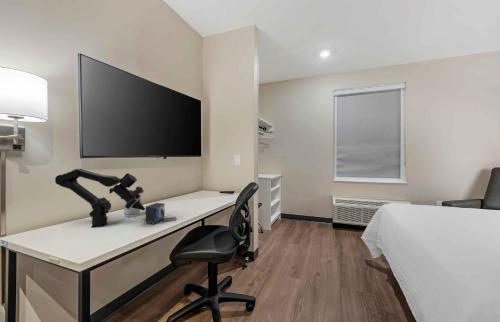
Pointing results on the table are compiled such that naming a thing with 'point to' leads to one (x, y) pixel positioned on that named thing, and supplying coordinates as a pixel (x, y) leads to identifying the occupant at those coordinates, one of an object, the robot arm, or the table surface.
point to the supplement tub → (131, 211)
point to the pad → (169, 219)
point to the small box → (155, 213)
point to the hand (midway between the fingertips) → (144, 209)
